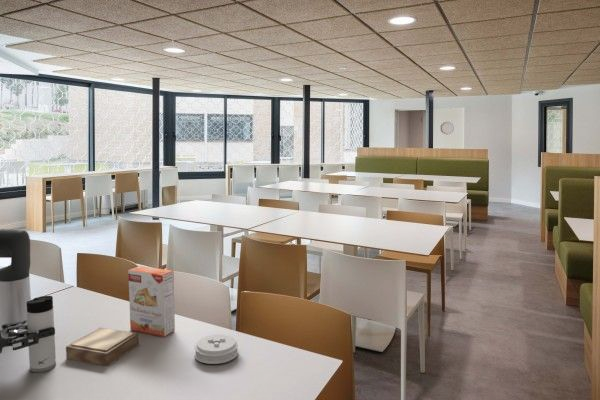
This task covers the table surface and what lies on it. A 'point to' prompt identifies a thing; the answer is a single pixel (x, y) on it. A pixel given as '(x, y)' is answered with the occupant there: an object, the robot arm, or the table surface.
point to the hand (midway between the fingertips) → (50, 326)
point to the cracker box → (151, 300)
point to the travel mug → (37, 319)
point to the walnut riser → (102, 346)
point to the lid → (216, 349)
